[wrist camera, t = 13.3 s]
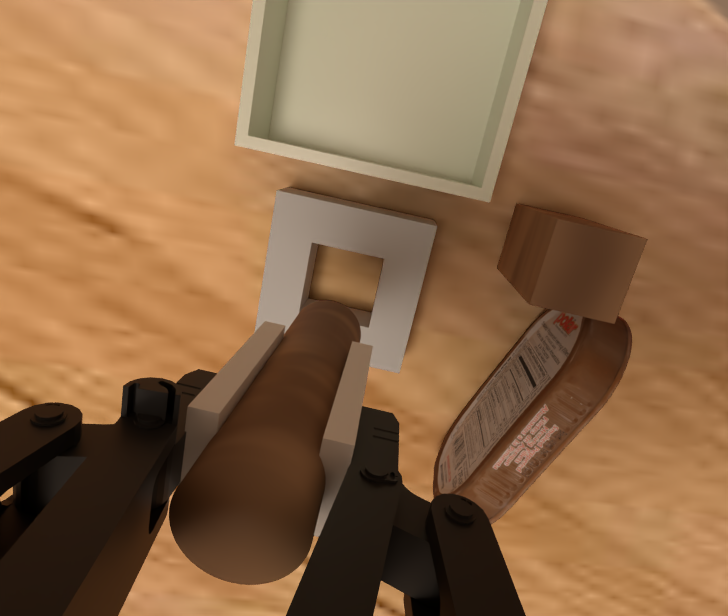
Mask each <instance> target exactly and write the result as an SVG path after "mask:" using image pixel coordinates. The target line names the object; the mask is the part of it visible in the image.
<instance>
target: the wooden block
mask: <svg viewBox="0 0 728 616" xmlns="http://www.w3.org/2000/svg"><path fill="white" fill-rule="evenodd" d="M647 240H648V239H645V238H642V237H639V236H636V235H633V234H630V233H627V232H624V231H621V230H618V229H614V228H611V227H608V226H605V225H602V224H599V223H596V222H593V221H590V220H587V219H583V218H579V217H575V216H571V215H566V214H562V213H557V212H553V211H548V210H544V209H539V208H535V207H530V206H526V205H522V204H517V203H516V207H515V210H514V213H513V217H512V220H511V223H510V226H509V230H508V233H507V236H506V240H505V243H504V246H503V250H502V253H501V256H500V259H499V263H498V266H497V269H498V270H499V271H500V272H501V273H502V274H503V275H504V277H505V278H506V279H507V280H508V281H509V282H510V283H511V284H512V286H513V287H514V288H515V289H516V290H517V291H518V292H519V293H520V295H521V296H522V297H523V298H524V299H525V300H526V301H527V302H528V304H529V305H533V306H538V307H542V308H547V309H551V310H555V311H560V312H564V313H569V314H573V315H578V316H582V317H586V318H591V319H595V320H600V321H604V322H608V323H613V324H615V321H616V319H617V316H618V314H619V311H620V308H621V306H622V303H623V301H624V298H625V296H626V293H627V291H628V288H629V285H630V283H631V280H632V278H633V275H634V273H635V270H636V268H637V265H638V262H639V260H640V257H641V255H642V252H643V250H644V247H645V245H646V242H647Z"/></svg>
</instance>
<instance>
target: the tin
mask: <svg viewBox="0 0 728 616" xmlns="http://www.w3.org/2000/svg"><path fill="white" fill-rule="evenodd" d="M631 346H632V334H631V330H630V328H629V325H628V324H627V322H626V321H625V320H624V319H622V318H621V317H619V316H617V319H616V321H615V324H613V323H608V322H604V321H600V320H595V319H591V318H586V317H582V316H578V315H573V314H569V313H564V312H560V311H555V310H551V309H548V310H547V311H546V312H545V313H543V314H542V315H541V316H540V317H539V318H538V319H537V320H536V321H535V322H534V323H533V324H532V325H531V326H530V328H529V329H528V330H527V331H526V332H525V334H524V335H523V336H522V337H521V338H520V340H519V341H518V342H517V343H516V345H515V346H514V347H513V348H512V350H511V351H510V352H509V353H508V354H507V356H506V357H505V358H504V359H503V361H502V362H501V363H500V364H499V365H498V367H497V368H496V369H495V370H494V372H493V373H492V374H491V375H490V377H489V378H488V379H487V380H486V382H485V383H484V384H483V385H482V387H481V388H480V389H479V391H478V392H477V393H476V394H475V396H474V397H473V398H472V399H471V401H470V402H469V403H468V404H467V406H466V407H465V408H464V410H463V411H462V412H461V414H460V415H459V416H458V418H457V419H456V421H455V422H454V424H453V425H452V427H451V429H450V430H449V432H448V434H447V436H446V437H445V439H444V441H443V443H442V446H441V448H440V450H439V453H438V456H437V458H436V462H435V466H434V480H433V495H434V498H435V497H436V496H438V495H441V494H444V493H445V494H456V495H460V496H463V497H466V498H468V499H470V500H471V501H473V502H475V503H476V504H477V505H478V506H479V507H481V508H482V509H483V510H484V512H485V514H486V515H487V517H488V519H489V521H490V524H492V523H494V522H496V521H497V520H498V519H500V518H501V517H502V516H503V515H504V514H505V513H506V512H507V511H508V510H509V509H510V508H511V507H512V506H513V505H514V504H515V503H516V502H517V500H518V499H519V498H520V497H521V496H522V495H523V494H524V493H525V491H526V490H527V489H528V488H529V487H530V486H531V485H532V484H533V483H534V482H535V481H536V479H537V478H538V477H539V476H540V475H541V474H542V473H543V472H544V471H545V470H546V468H547V467H548V466H549V465H550V464H551V463H552V462H553V461H554V460H555V458H556V457H557V456H558V455H559V454H560V453H561V452H562V451H563V450H564V449H565V447H566V446H567V445H568V444H569V443H570V442H571V441H572V440H573V439H574V438H575V437H576V436H577V435H578V433H579V432H580V431H581V430H582V429H583V428H584V427H585V426H586V425H587V424H588V423H589V422H590V420H591V419H592V418H593V417H594V416H595V415H596V414H597V413H598V412H599V410H600V409H601V408H602V407H603V406H604V405H605V403H606V402H607V401H608V399H609V398H610V397H611V395H612V393H613V392H614V390H615V388H616V387H617V385H618V384H619V382H620V380H621V378H622V376H623V373H624V371H625V369H626V366H627V363H628V360H629V358H630V353H631Z"/></svg>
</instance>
